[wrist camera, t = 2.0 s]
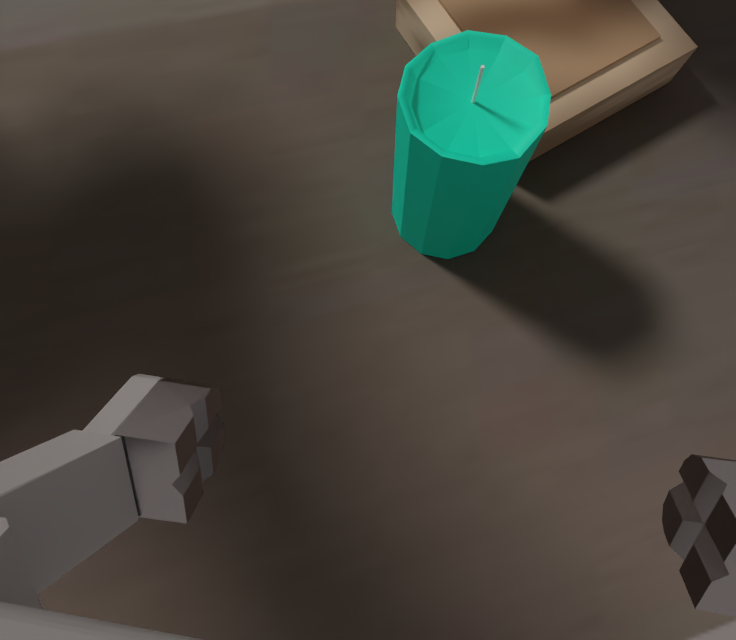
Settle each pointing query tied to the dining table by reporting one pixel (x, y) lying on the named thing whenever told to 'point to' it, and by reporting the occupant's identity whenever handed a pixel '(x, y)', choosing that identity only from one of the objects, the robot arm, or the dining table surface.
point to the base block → (568, 49)
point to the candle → (464, 138)
